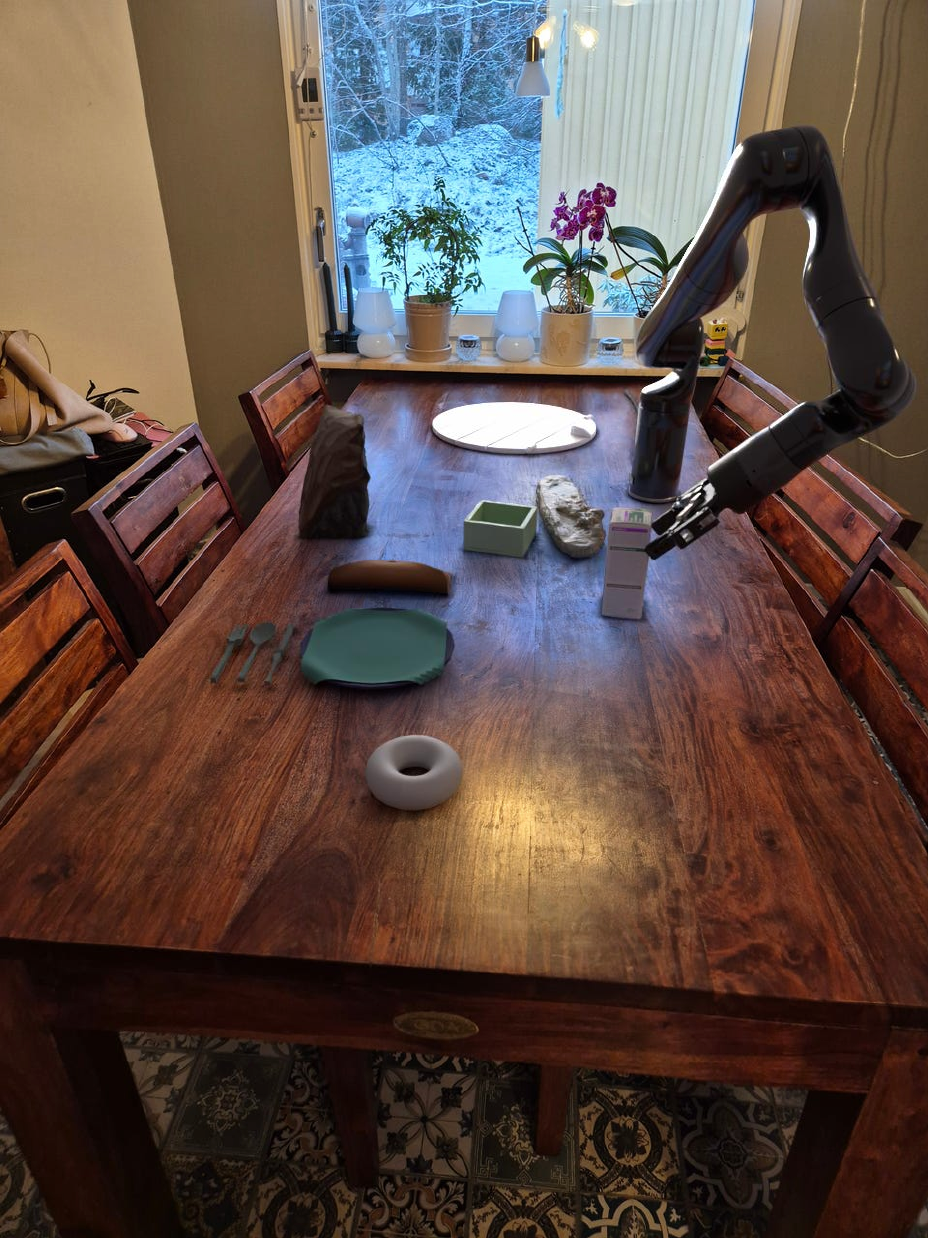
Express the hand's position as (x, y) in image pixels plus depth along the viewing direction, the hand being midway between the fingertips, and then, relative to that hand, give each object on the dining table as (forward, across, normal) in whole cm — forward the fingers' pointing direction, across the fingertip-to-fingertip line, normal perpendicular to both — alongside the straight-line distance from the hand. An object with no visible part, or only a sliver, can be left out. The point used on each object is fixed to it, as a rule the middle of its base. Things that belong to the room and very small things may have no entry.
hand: (651, 541), depth 112 cm
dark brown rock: (+47, -14, -31) cm, 58 cm away
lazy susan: (+35, -83, -20) cm, 93 cm away
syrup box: (+10, 0, +6) cm, 12 cm away
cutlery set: (+34, +24, -18) cm, 45 cm away
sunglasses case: (+34, +3, -18) cm, 39 cm away
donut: (+21, +45, -5) cm, 50 cm away
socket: (+26, -18, -10) cm, 33 cm away
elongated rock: (+20, -30, -4) cm, 36 cm away
